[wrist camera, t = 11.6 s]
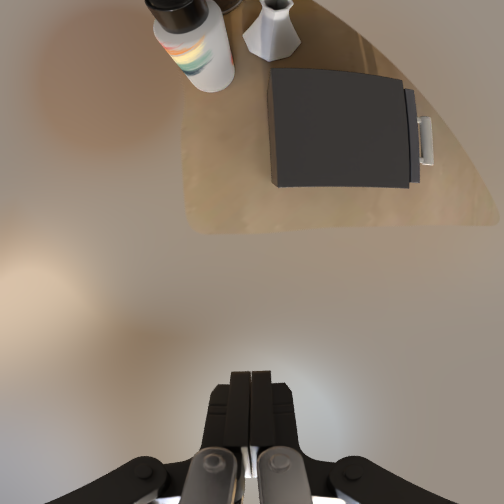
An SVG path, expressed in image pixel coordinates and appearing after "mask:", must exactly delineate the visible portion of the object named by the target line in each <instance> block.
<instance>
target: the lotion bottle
mask: <svg viewBox="0 0 504 504" xmlns="http://www.w3.org/2000/svg"><path fill="white" fill-rule="evenodd" d="M145 3H146V5H147V7H148V8H149V10H150V11H151V12H152V14H153V15H154V17H155V18H156V19H155V21H154V26H153V30H154V34H155V36H156V38H157V39H158V41H159V42H160V43H161V45H162V46H163V47H164V48H165V50H166V51H167V52H168V53H169V55H170V56H171V57H172V58H173V60H174V61H175V62H176V63H177V64H178V66H179V67H180V68H181V69H182V71H183V72H184V73H185V75H186V76H187V77H188V78H189V80H190V81H191V82H192V83H193V84H194V85H195V86H196V87H197V88H198V89H200V90H202V91H205V92H217V91H220V90H222V89H224V88H226V87H227V86H228V85H229V84H230V83H231V82H232V80H233V78H234V74H235V68H234V63H233V58H232V54H231V49H230V45H229V41H228V36H227V32H226V28H225V23H224V19H223V16H222V12H221V9H220V8H219V6H218V5H217V4H216V3H215V2H214V1H213V0H145Z"/></svg>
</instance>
